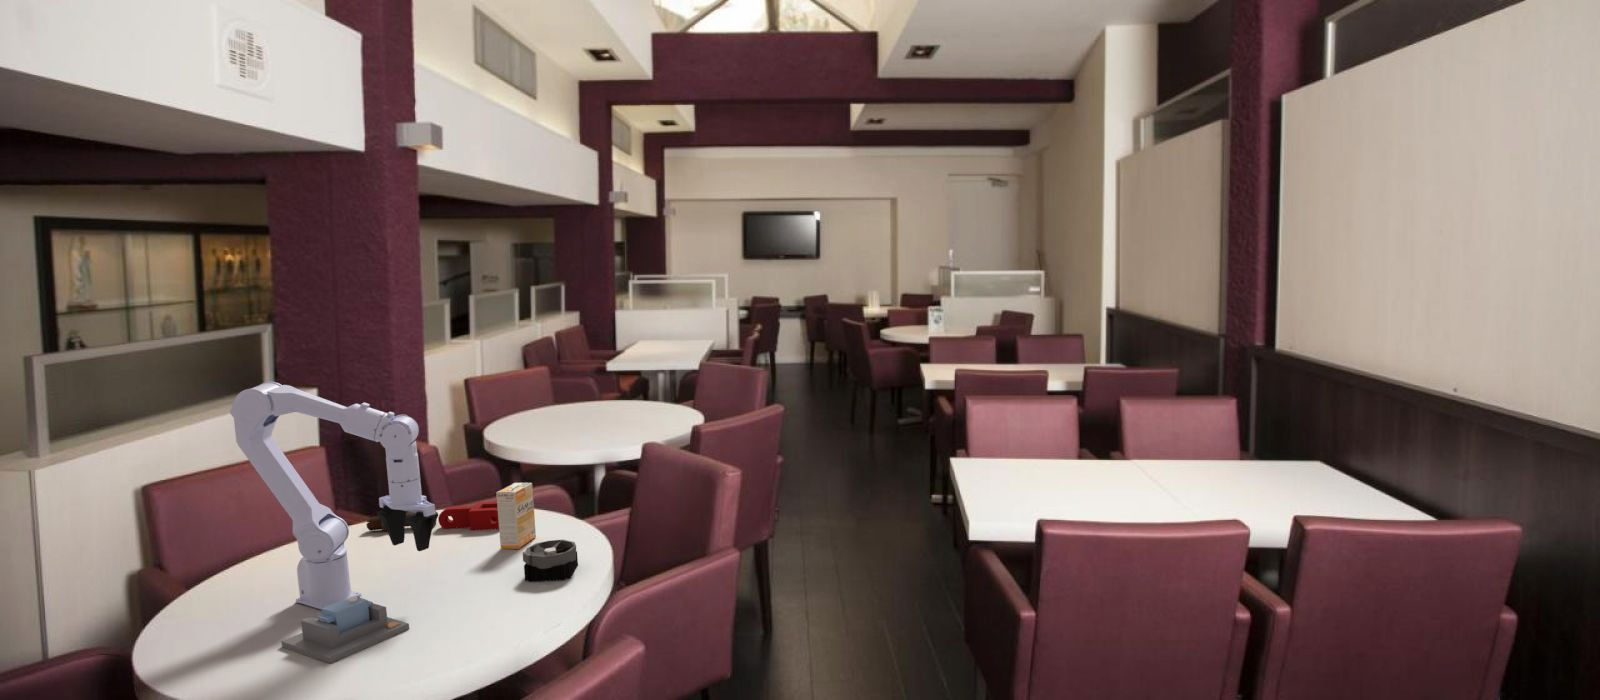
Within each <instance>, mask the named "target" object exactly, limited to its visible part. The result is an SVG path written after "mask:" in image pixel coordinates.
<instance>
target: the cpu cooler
mask: <svg viewBox="0 0 1600 700" xmlns="http://www.w3.org/2000/svg"><path fill="white" fill-rule="evenodd" d="M578 560H579V559H578V551H577V545H576V542H575V541H571V540H567V539H554V540H547V541H541V542H536V543H534V544H532V545H530V546H529V547H526V549H525V551H523V552H522V562H523V563H524V565H523V570H524V572H523V573H524V581H530V582H532V581H535V582H537V581H538V582H546V581H547V582H554V580H555V581H556V580H557V581H565V580H566V579H572V577H571V576H573V575H574V573H575V571H576V570H575V569H577V568H578V566H579V561H578ZM542 580H543V581H542ZM545 580H546V581H545Z"/></svg>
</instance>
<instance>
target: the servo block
mask: <svg viewBox="0 0 1600 700" xmlns="http://www.w3.org/2000/svg"><path fill="white" fill-rule="evenodd" d="M372 605H373V601H370V600H369V599H366V598H365V599H364V598H363V597H362V598H361V597H360V596H359V597H356V596H353V597H350V598H348V599H345V600H343V601H340V602H338V603H335V604H332V605H330V606H327V607H325V608H322V610H321V611H322V614H321V615H317V620H320V621H323V622H326V623H329V624H333V625H336V626H339V633H341V632H344V631H346V630H349V629H351V628H353V627H356V626H358V625H361V624H363V623H365V622H368V621H370V618H369V608H368V607H370V606H372Z"/></svg>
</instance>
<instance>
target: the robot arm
mask: <svg viewBox="0 0 1600 700" xmlns="http://www.w3.org/2000/svg"><path fill="white" fill-rule="evenodd" d="M370 405H371V404H369V403H367V402H363V403H361V404H359V403H354V404H352V405H349V406H346V405H342V404H339V403H336V402H334V401H331V400H328V399H325V398H323V397H320V396H317V395H315V394H312V393H309V392H306V391H304V390H301V389H298V388H296V387H294V386H292V385H289V384H283V385H282V384H281V383H279V382H275V381H265V382H262V383H261V384H259V385H256V386H254V387H252V388H247V389H243V390H242V391H241V392H239V393H238V394H237V395H236V397H235V398H234V401H233V402H232V406H231V408H230V411H229V413H230V415H231V416H232V418H233V422H234V432H235V434H234V435H235V441H236V444H237V446H238V447H239V449H240V450H241V452H243V454H244V456H245V457H246V458H247V460H248V461H249V462H250V464H251V465H252V466H253V467H254V469H255V471H256V472H257V473H258V475H259V476H260V478H261V479H262V480H263V482H264V483H265V484H266V486H267V487H268V488H269V490H270V492H271V493H272V494H273V496H274V497H275V499H277V501H278V503H279V504H280V505H281V506H282V507H283V509H284V511H285V512H286V513H287V514H288V515H289V518H290V519H291V520H292V535H293V536H294V537H295V539H296V540H297V545H298V551H299V553H300V555H301V556H302V557H301V558H300V560H299V561H298V564H297V566H296V567H297V568H296V574H297V575H296V576H297V582H298V593H299V597H298V598H296V599H295V602H296V603H299V604H302V605H305V606H308V607H310V608H311V607H312V608H315V609H318V610H321V611H322V608H325V607H327V606H330V605H332V604H335V603H338V602H340V601H343V600H345V599H348V598H350V597H353V596H356V597H359V598H360V597H361V596H362V593H360V592H357V591H354V590H351V589H352V587H351V581H350V580H351V578H350V571H349V570H350V569H349V562H348V561H349V560H348V551H347V550H348V549H347V547H346V545H345V542H346V540H347V539H348V538H349V535H350V534H349V533H350V528H349V525H348V523H347V521H345V520H344V519H343V518H341V517H339V516H338V515H336V514H335V513H334V512H333V511H332V509H331V508H330V507H328V506H326V505H324V504H321V503H319V501H318V499H316V497H315V495H314V493H313V492H312V491H311V490H310V488H309V487H308V485H307V484H306V483H305V481H304V480H303V479H302V477H301V476H300V474H299V473H298V472H297V470H296V469H295V468H294V466H293V464H291V462H290V460H289V459H288V458H287V456H286V455H285V453H284V452H283V451H282V449H281V448H280V446H279V445H278V444H277V443H276V441H275V440H274V437H272V434H273V431H274V429H275V427H276V426H275V425H276V424H277V423H276V422H277V419H279V417H280V416H284V415H288V414H292V413H299V414H302V415H306V416H311V417H314V418H318V419H322V420H325V421H330V422H333V423H337V424H339V425H340V426H341V428H342V430H343V431H344V432H345V433H348V434H349V435H353V436H358V437H361V438H363V439H367V440H370V441H373V442H376V443H379V442H380V445H381V446H382V447H383V448H384V449H385V461H386V462H385V463H386V471H387V473H386V474H387V481H388V482H387V483H388V493H389V494H388V495H385V496H381V497H379V498H378V505H379V508H382V510H380V511H377V512H376V515H377V516H378V517H379V518H380V519H381V521H382V522H383V524H384V525H385V527H386V529H387V531H388V532H387V533H388V536H389V539H390V541H391V544H392V546H397V545H398V546H399V545H400V544H404V543H405V539H406V538H405V534H406V533H405V532H406V531H405V527H404V524H405V516H406V513H411V512H412V513H413V512H414V513H416V515H414V516H411V517H408V518H407V521H408V522H409V524H410V526H409V527H410V528H411V531H412V533H413V538H414V543H415V547H416V550H417V552H422V551H425V550H428V549H429V548H430V542H431V537H432V532H433V526H434V523H435V521H436V519H437V520H438V518H439V512H437V511H436V512H435V510H436V505H435V504H434V503H431V502H429V501H428V499H427V496H426V495H423V494H422V493H423V492H422V485H421V484H422V483H421V473H420V460H419V453H418V448H417V447H418V445H417V440H416V439H417V437H418V436H419V432H420V431H419V430H420V428H419V424H418V422H417V421H416V420H415V419H414V418H413V417H411V416H408V415H407V414H398V415H395V412H394V411H389V412H385V411H381V410H378V409H376V408H372V407H370ZM377 516H376V517H377ZM436 522H437V521H436Z"/></svg>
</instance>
